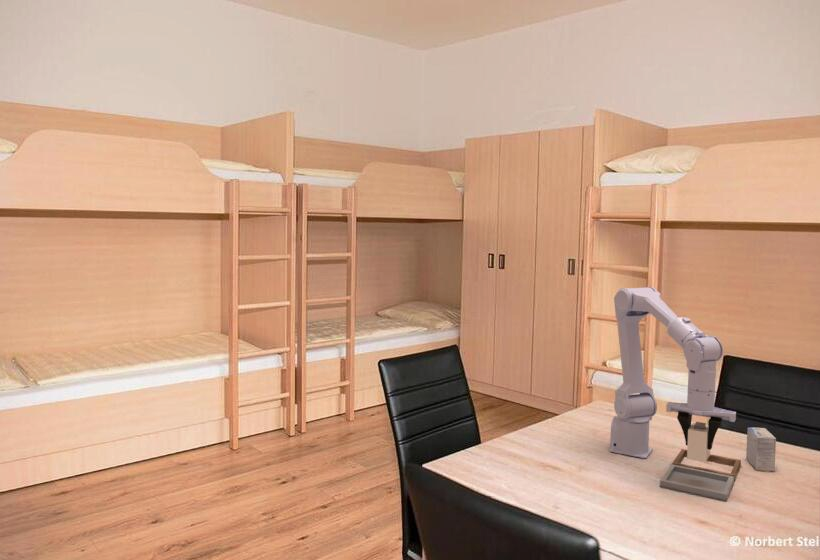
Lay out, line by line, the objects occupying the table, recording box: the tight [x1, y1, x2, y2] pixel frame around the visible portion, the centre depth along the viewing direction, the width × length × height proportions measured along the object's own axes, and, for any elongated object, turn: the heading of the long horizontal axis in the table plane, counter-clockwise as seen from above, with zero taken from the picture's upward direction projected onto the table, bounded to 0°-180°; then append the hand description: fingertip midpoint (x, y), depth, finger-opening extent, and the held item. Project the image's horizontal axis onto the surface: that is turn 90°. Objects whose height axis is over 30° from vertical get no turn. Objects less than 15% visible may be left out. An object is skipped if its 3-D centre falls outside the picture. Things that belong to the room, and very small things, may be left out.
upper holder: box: [671, 448, 742, 483], centre depth 160 cm, size 14×12×2 cm
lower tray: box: [659, 463, 735, 502], centre depth 149 cm, size 14×12×2 cm
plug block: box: [686, 421, 711, 463], centre depth 148 cm, size 4×6×8 cm, turn 146°
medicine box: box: [745, 427, 777, 472], centre depth 161 cm, size 8×4×9 cm, turn 168°
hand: (698, 446), depth 148 cm, fingers closed on plug block, 4 cm apart
